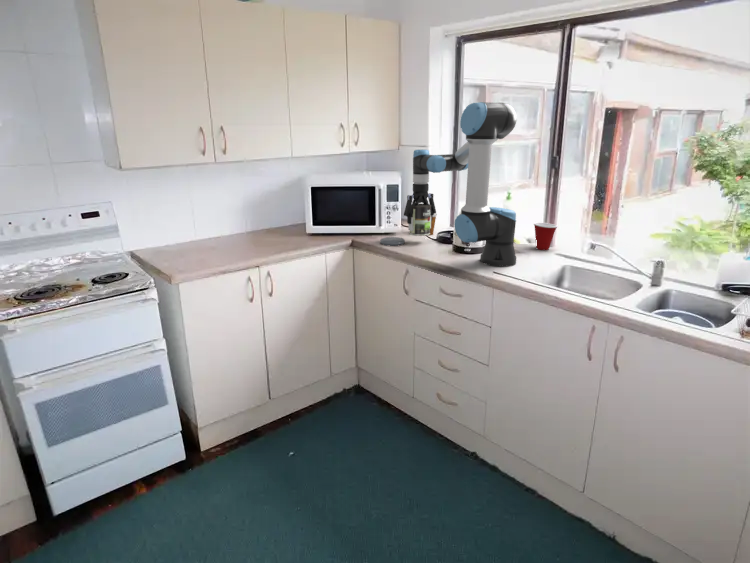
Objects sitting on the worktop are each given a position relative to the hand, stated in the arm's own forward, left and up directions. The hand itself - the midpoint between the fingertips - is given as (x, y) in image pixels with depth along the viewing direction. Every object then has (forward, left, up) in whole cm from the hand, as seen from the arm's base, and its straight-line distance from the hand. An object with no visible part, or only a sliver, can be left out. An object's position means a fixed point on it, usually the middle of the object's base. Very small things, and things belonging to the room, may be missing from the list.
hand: (419, 229), depth 245 cm
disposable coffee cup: (+14, -15, -7) cm, 22 cm away
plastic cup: (-38, -45, -7) cm, 59 cm away
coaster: (+7, +11, -7) cm, 15 cm away
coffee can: (0, 0, -3) cm, 3 cm away
